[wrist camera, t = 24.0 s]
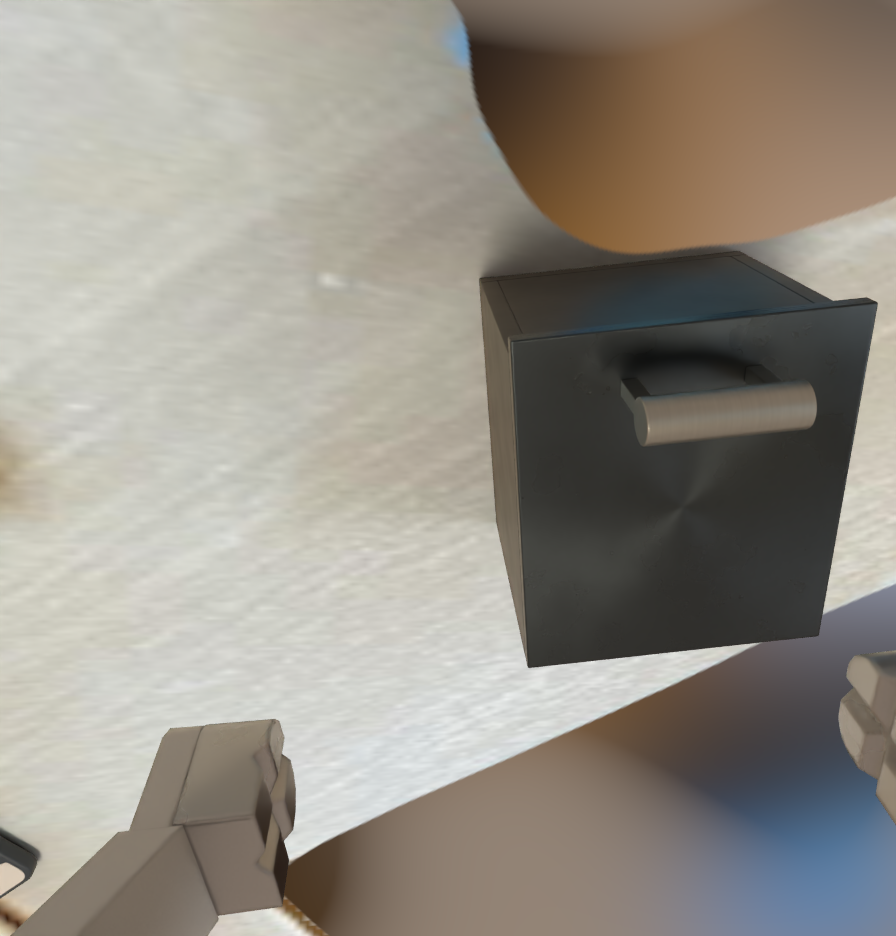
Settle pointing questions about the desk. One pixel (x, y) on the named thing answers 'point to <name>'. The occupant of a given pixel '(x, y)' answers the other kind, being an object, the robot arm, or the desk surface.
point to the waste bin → (596, 304)
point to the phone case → (14, 866)
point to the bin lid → (683, 477)
